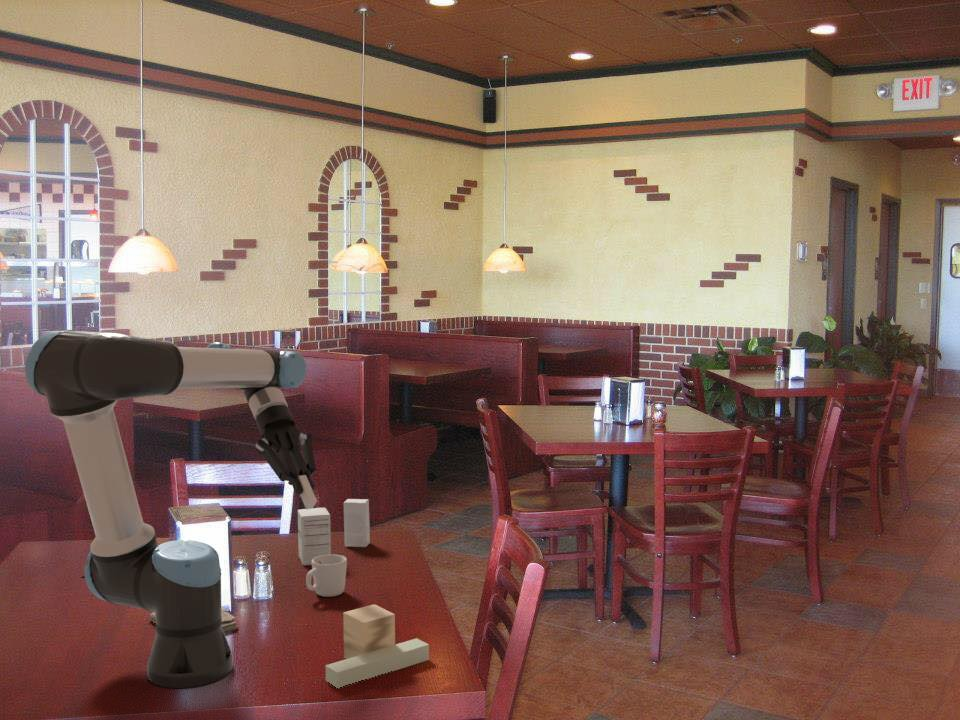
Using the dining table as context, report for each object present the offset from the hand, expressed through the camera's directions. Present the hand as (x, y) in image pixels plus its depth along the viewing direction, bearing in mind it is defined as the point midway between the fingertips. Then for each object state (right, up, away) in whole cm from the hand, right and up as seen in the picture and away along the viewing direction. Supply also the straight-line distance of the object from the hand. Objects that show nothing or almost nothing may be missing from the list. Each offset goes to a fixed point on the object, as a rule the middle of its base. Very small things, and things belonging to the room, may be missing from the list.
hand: (311, 505), depth 200 cm
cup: (-1, -24, +23) cm, 33 cm away
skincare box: (+2, -20, +62) cm, 65 cm away
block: (+13, -27, -12) cm, 33 cm away
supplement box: (-7, -21, +48) cm, 53 cm away
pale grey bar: (+15, -28, -18) cm, 36 cm away
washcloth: (-25, -26, +5) cm, 37 cm away
